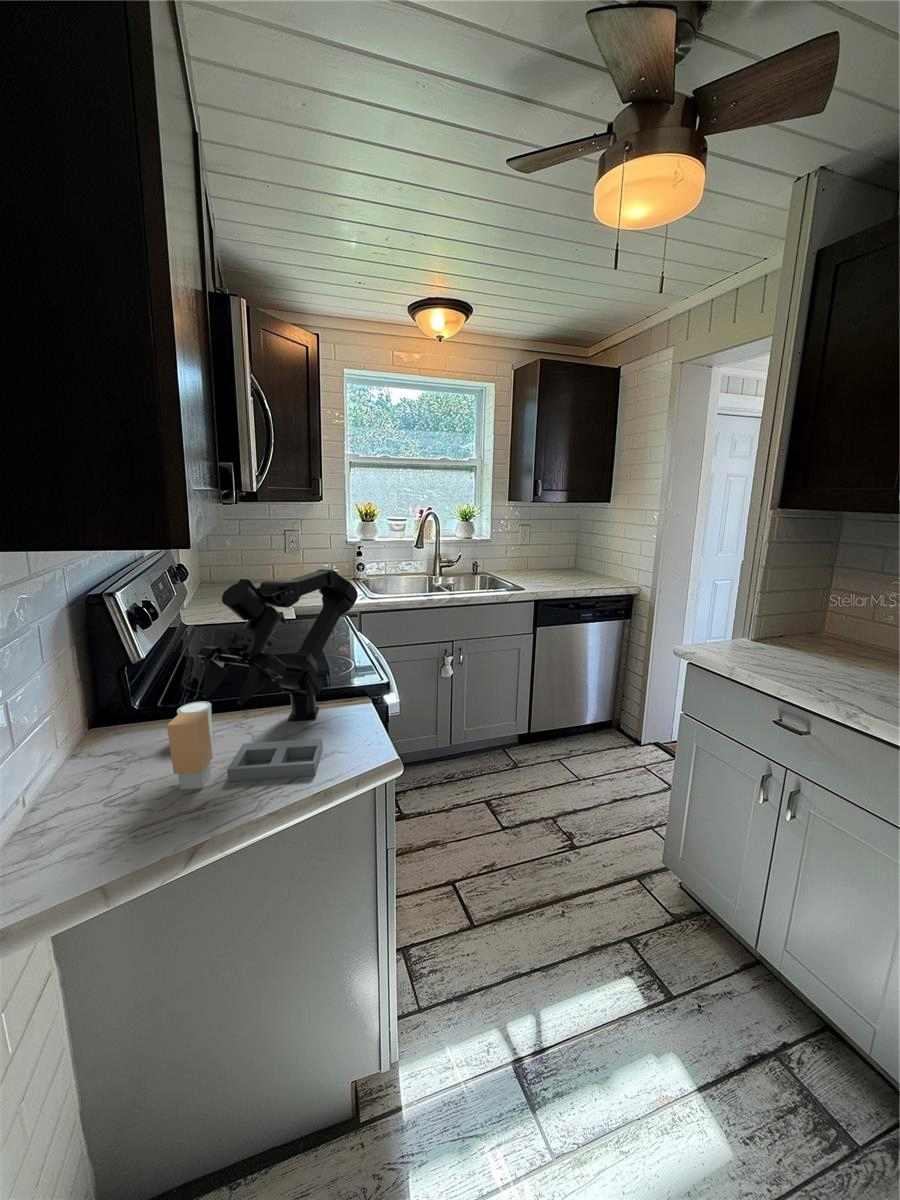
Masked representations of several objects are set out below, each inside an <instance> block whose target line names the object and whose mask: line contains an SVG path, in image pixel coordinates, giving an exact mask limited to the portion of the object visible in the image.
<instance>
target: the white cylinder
mask: <svg viewBox="0 0 900 1200" xmlns="http://www.w3.org/2000/svg"><path fill="white" fill-rule="evenodd" d="M193 712H207V714H208V723H209V731H210V737H211V736H212V734H213V733H212V703H211V702H209V701H194V702H189V703H186V704H183V705H181V706H180V707H179V708H177V710H176V714H177V715H178V714H179V713H193Z"/></svg>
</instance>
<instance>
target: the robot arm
mask: <svg viewBox="0 0 900 1200" xmlns="http://www.w3.org/2000/svg"><path fill="white" fill-rule="evenodd" d="M254 585H255V584H253V583H252V581H251V580H250V579H249V578H240V579H239V581H238V582H236V583H234V584H232V585H231V586H229V587H228V588H227V589H226V590H224V591H223V594H222V597H221V602H222V604H223V605H224V606H225V607H226V608H227V609H228V610H230V611H231V612H233V613H234V615H236V616H237V617H238V618H239V619H241V620H243V621H246V623H245V624H244V627H238V628H237V629H236V630H229V629H222V628H221V629H220V628H214V630H213V633H212V636H211V637H212V638H211V640H210V645H205V646H202V647H201V648H200V650H199V652H198V653H197V657H199V658H200V662H201V663H203V664H204V668H205V675H204V683H203V687H202V688H203V689H202V697H204V698H206V699H207V698H208V697H209V696H210V695H211V694H212V693H214V691H215V690H216V688H217V687H218V686H219V685H220V683H221V682H222V681H223V680H224V679H225V677H226V676H227V675H228V674H229V670H228V669H230V668H231V666H232V665H235V666H242V667H248V677H247V679H246V681H245V683H244V685H243V687H242V690H241V692H240V693H239V697H238V699H237V704H239V705H244V704H245V703H246V702H247V701H248V700H250V699H251V698H252V697H254V696H255V694H258V692H259V691H261V690H262V689H263V688H265V687H266V686H267V685H270V683H272V682H276V681H277V683H278V685H279V687H280V688H279V689H281V692H282V693H288V694H289V697H290V705H291V708H290V709H291V712H290V714H289V716H288V717H287V718H288V719H287V720H288V721H303V720H305V721H306V720H316V719H317V716H318V713H319V710H320V706H316V705H317V704H316V695H320V692H321V691H323V687H324V680H322V679H321V678H320V677H318V675H317V674H318V672H319V671H318V664H317V660H318V658H319V657H320V655H321V653H322V651H323V650H324V647H325V645H326V643H327V641H328V640H329V638H330V636H331V634H332V632H333V630H334V628H335V627H336V624H337V623H338V621H339V619H340V617H341V616H342V615H344V614H346V613H347V612H349V611H350V610H351V609H352V608H353V606H354V604H355V603H356V602H357V600H358V597H359V596H358V594H359V593H358V590H357V588H356V586H354V585H353V584H352V583H351V582H350V581H348V580H347V579H346V578H344V577H342V576H341V575H339V574H338V572H337V571H335V570H334V569H321V568H320V569H318V570H315V571H313V572H310V573H306V574H304V575H299V576H297V577H295V578H291V579H282V580H281V579H280V580H279V579H276V580H274V579H273V580H270V579H269V580H264V581H262V582H261V583H260V586H258V587H256V586H254ZM315 591H318V592H319V593H320V594H321V596H322V597H321V600H322V601H321V602H322V608H321V610H320V612H319V613H318V616H317V617H316V619H315V621H314V623H313V624H312V627H311V628H310V630H309V631H308V632H307V635H306V637H305V639H304V640H303V642H302V644H301V645H300V646H299V647H300V648H299V649H298V651H297V652H294V653H292V652H288V653H286V654H285V655H284V657H283V659H282V660H281V659H280V658H278V657H277V656H275V655H274V654H272V653H266V652H264V651H265V649H266V648H271V647H272V644H273V643H272V642H271V641H270V639H271V637H272V635H273V633H274V631H275V630H276V627H277V625H286V623H287V620H286V618H285V615H284V612H283V611H278V610H277V609H276V608H283V609H284V608H286V609H287V608H290V607H292V606H294V605H295V604H296V603H299V601H300V598H301V597H303V596H304V595H305V596H306V595H307V594H310V593H312V592H315ZM216 645H218V646H216ZM219 646H222V647H224V649H222V648H221V647H219ZM228 652H229V653H228Z"/></svg>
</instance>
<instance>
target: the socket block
mask: <svg viewBox="0 0 900 1200" xmlns="http://www.w3.org/2000/svg"><path fill="white" fill-rule="evenodd" d="M323 745H324V744H323V738H309V739H307V738H306V739H294V740H277V741H261V742H247V743H243V744H242V745H241V746H240V748H239V750H238V751H237V753H236V755H235V756H234V757H233V760H231V762H230V764H229V766H228V767H227V769H226V772H227V780H228V783H229V782H241V781H255V780H257V781H258V780H267V779H268V780H270V779H279V778H280V779H281V778H283V779H284V778H298V777H299V778H300V777H311V776H312V777H313V776H316V774H317V771H318V767H319V764H320V761H321V757H322V753H323V749H324V746H323ZM305 758H313V759H312V760H308V761H306V760H305V761H293V762H288V761H289V760H291V759H305ZM261 761H270V762H269V763H264V764H263V763H262V764H251V765H250V764H249V765H247V763H248V762H261Z"/></svg>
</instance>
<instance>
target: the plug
mask: <svg viewBox="0 0 900 1200" xmlns="http://www.w3.org/2000/svg"><path fill="white" fill-rule="evenodd" d="M166 726H167V727H166V728H167V736H168V743H169V749H170V750H169V751H170V756H171V764H172V770H173V771H172V772H173V774H174V775H175V774H176V775H177V777H178V783H179V784H178V785H179V790H193V789H204V788H205V786H206V784H207V783H208V781H209V780H210V778H211V777H212V774H211V773H212V772H211V763H210V762H211V761H212V759H213V758H214V757H213V749H212V741H211V739H212V738H211V736H210V731H209V723H208V714H207V712H193V713H179V714H177V715H176V716H175V717H174V718H173V719H172V720H171V721H170V722H169V723H167V725H166Z"/></svg>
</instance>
